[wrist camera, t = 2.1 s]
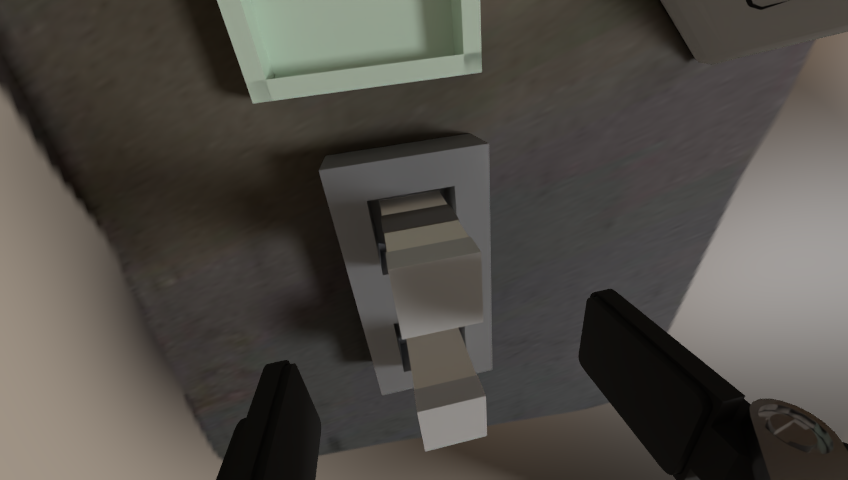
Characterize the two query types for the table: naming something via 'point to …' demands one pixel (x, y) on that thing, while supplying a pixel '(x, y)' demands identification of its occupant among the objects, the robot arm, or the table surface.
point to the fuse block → (365, 246)
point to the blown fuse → (430, 264)
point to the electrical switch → (753, 25)
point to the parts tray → (350, 43)
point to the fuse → (446, 390)
